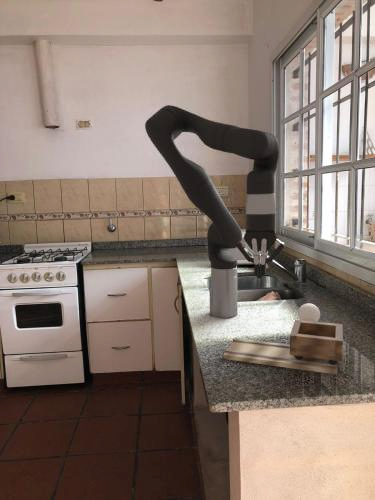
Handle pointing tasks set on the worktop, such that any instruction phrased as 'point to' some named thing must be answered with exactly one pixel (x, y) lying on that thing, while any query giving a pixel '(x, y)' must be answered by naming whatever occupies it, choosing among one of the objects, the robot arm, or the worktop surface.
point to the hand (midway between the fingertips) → (260, 277)
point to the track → (275, 356)
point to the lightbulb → (309, 312)
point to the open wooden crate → (317, 340)
